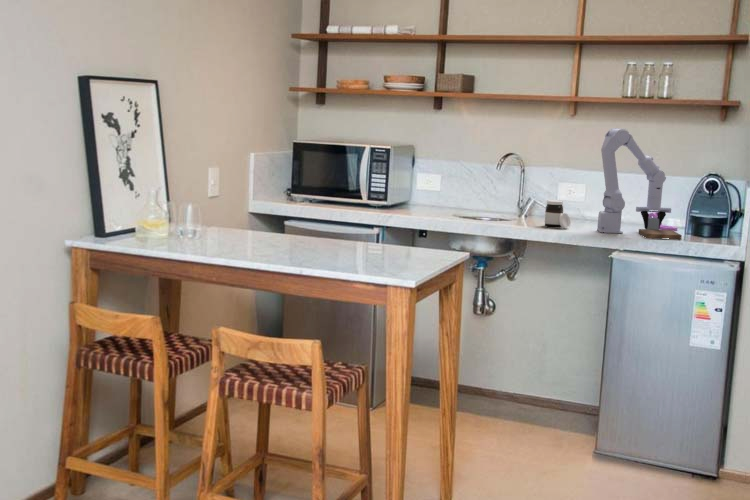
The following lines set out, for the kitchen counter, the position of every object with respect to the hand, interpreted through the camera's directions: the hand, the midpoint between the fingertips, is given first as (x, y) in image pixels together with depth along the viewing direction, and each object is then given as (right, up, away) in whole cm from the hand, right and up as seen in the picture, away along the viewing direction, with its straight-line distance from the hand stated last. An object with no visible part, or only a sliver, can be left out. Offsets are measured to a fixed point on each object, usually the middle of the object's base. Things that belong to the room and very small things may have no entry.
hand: (651, 228), depth 368 cm
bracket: (+9, 0, +12) cm, 15 cm away
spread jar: (-40, 0, +7) cm, 40 cm away
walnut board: (-1, -4, -12) cm, 13 cm away
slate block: (0, -1, 0) cm, 1 cm away
